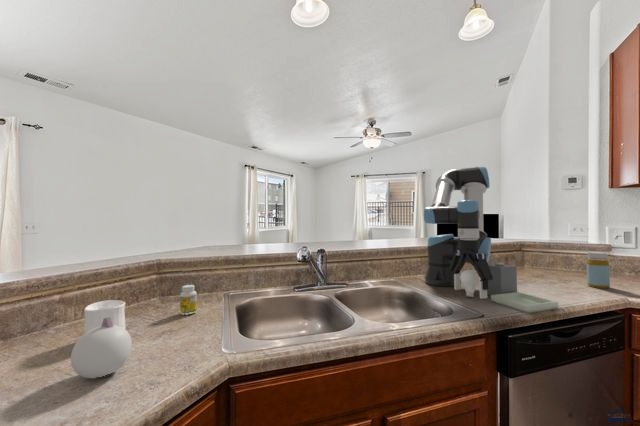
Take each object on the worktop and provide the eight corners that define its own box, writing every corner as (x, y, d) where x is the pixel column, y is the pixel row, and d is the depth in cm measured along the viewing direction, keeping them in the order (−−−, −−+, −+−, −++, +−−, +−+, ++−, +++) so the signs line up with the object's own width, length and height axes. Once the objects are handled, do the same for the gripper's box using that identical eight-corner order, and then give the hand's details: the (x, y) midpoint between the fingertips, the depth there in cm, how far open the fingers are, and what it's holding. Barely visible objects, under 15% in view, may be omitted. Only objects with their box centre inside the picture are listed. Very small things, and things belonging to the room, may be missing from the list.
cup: (93, 350, 73) (93, 312, 73) (75, 342, 78) (75, 306, 78) (132, 336, 81) (132, 302, 81) (114, 330, 86) (114, 297, 86)
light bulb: (482, 300, 108) (481, 271, 108) (463, 299, 109) (462, 271, 109) (476, 295, 114) (475, 268, 114) (458, 295, 116) (457, 268, 116)
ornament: (140, 360, 67) (139, 309, 67) (115, 385, 57) (115, 325, 57) (92, 364, 65) (91, 312, 66) (58, 391, 55) (58, 329, 55)
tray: (491, 300, 107) (490, 295, 107) (519, 297, 111) (519, 291, 111) (527, 312, 93) (526, 306, 93) (558, 308, 97) (558, 301, 97)
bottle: (613, 287, 122) (612, 252, 122) (604, 289, 120) (603, 254, 120) (592, 284, 129) (591, 251, 129) (583, 285, 126) (582, 252, 126)
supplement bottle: (200, 312, 101) (200, 285, 101) (186, 316, 96) (186, 288, 96) (190, 309, 103) (190, 283, 104) (177, 314, 99) (176, 286, 99)
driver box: (483, 293, 118) (482, 261, 118) (498, 291, 120) (497, 260, 120) (501, 298, 110) (500, 265, 110) (517, 296, 112) (516, 263, 112)
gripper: (439, 237, 123) (440, 287, 122) (486, 241, 99) (488, 303, 99) (454, 236, 125) (455, 285, 124) (503, 241, 101) (505, 301, 101)
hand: (469, 293), depth 112 cm, fingers open, 12 cm apart
